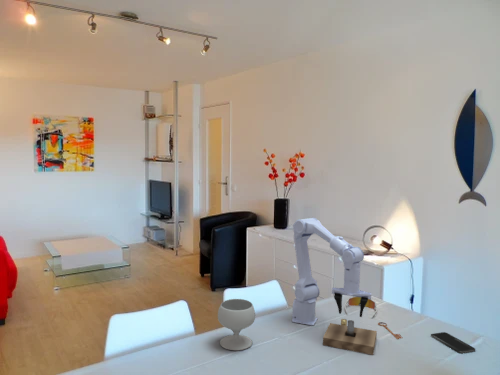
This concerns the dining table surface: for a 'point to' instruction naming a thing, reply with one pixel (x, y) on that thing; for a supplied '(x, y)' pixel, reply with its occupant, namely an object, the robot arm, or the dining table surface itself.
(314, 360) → the dining table surface
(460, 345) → the phone
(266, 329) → the dining table surface
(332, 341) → the hole block
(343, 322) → the short pin
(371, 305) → the sunglasses
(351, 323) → the long pin
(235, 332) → the chalice
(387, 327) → the key
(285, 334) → the dining table surface
